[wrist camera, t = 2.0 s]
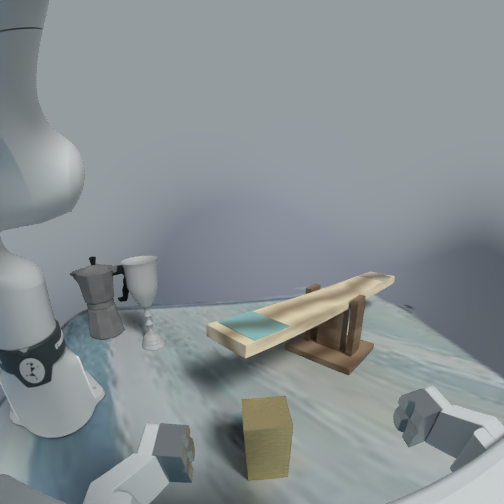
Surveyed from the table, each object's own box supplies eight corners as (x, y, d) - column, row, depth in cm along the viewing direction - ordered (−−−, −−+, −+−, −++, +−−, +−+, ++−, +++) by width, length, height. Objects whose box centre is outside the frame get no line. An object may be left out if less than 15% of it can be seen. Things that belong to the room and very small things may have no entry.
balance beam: (206, 335, 33) (206, 323, 33) (369, 277, 67) (369, 271, 67) (245, 358, 28) (245, 344, 28) (393, 282, 62) (394, 275, 62)
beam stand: (285, 349, 51) (286, 291, 49) (315, 329, 58) (317, 277, 55) (348, 375, 42) (358, 311, 39) (372, 349, 48) (381, 291, 46)
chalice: (138, 355, 49) (120, 267, 45) (135, 339, 55) (120, 258, 51) (173, 348, 52) (160, 261, 48) (166, 333, 58) (155, 254, 54)
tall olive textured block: (248, 480, 23) (243, 430, 21) (246, 453, 27) (241, 399, 25) (287, 476, 23) (293, 425, 21) (282, 450, 28) (285, 395, 25)
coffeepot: (77, 340, 52) (58, 264, 48) (89, 322, 61) (75, 254, 57) (137, 340, 55) (122, 259, 51) (144, 321, 64) (133, 249, 60)
